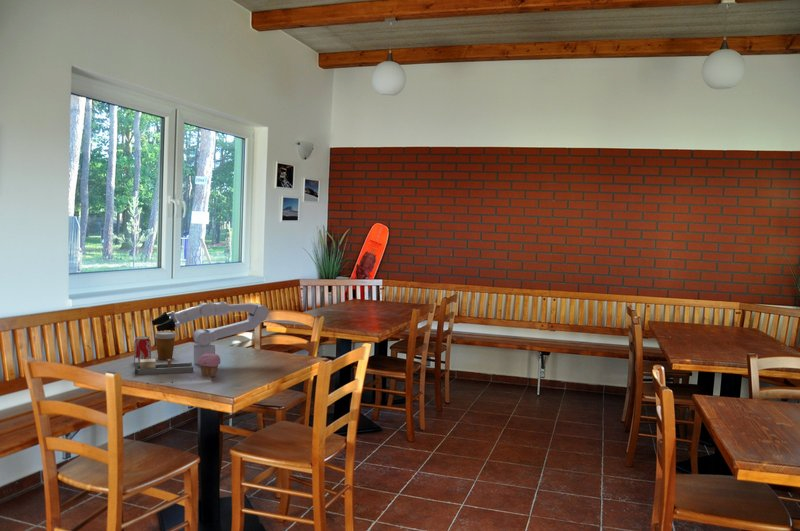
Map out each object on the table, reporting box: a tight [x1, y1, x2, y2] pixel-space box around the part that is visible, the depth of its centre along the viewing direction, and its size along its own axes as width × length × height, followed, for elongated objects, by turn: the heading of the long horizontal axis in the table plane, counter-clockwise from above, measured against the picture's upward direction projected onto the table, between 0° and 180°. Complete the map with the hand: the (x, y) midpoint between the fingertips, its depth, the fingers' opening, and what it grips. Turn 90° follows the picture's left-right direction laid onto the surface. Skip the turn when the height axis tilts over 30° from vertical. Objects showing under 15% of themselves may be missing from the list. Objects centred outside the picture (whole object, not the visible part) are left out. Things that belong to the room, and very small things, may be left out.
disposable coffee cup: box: [154, 330, 177, 360], centre depth 309 cm, size 10×10×12 cm
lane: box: [134, 358, 194, 376], centre depth 280 cm, size 23×10×6 cm, turn 112°
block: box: [139, 358, 172, 369], centre depth 279 cm, size 12×6×4 cm, turn 112°
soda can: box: [133, 336, 152, 365], centre depth 296 cm, size 7×7×12 cm
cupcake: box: [198, 353, 221, 378], centre depth 276 cm, size 9×9×10 cm
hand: (154, 326), depth 287 cm, fingers open, 7 cm apart
